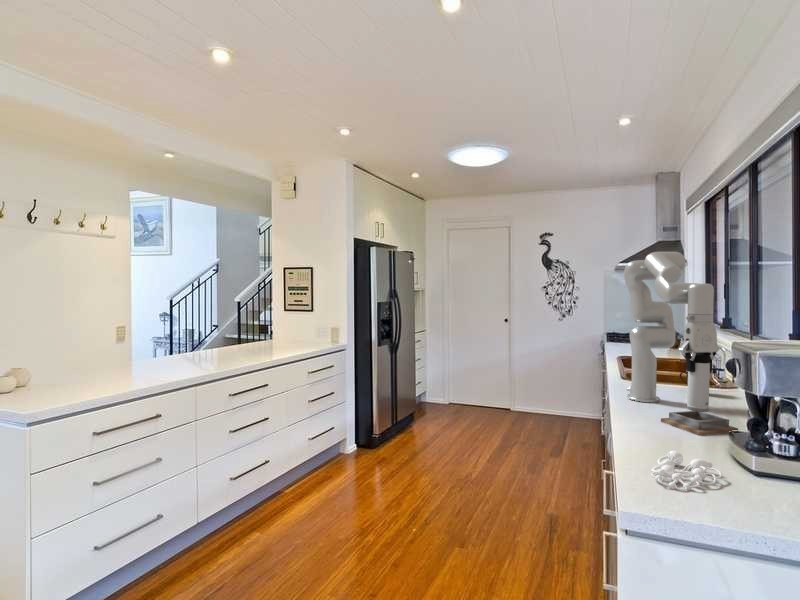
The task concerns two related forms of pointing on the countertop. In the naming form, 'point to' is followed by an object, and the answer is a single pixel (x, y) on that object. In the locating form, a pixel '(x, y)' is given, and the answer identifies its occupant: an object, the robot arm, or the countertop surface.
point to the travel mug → (699, 384)
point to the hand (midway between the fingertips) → (698, 370)
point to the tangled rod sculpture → (670, 474)
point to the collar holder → (698, 422)
